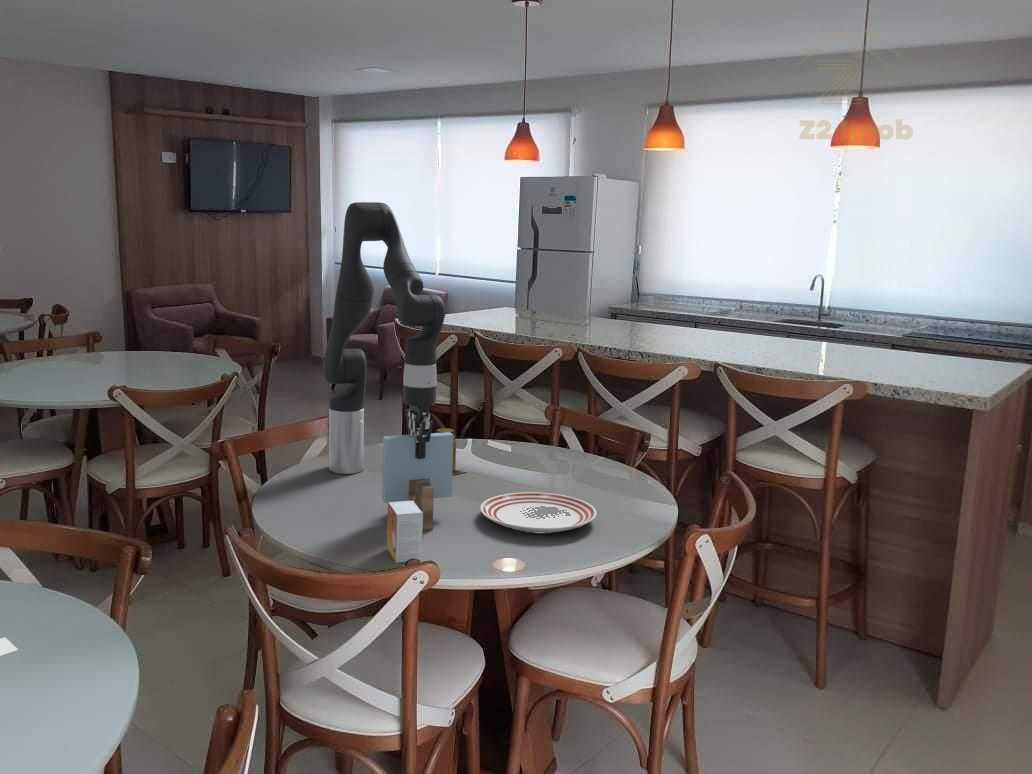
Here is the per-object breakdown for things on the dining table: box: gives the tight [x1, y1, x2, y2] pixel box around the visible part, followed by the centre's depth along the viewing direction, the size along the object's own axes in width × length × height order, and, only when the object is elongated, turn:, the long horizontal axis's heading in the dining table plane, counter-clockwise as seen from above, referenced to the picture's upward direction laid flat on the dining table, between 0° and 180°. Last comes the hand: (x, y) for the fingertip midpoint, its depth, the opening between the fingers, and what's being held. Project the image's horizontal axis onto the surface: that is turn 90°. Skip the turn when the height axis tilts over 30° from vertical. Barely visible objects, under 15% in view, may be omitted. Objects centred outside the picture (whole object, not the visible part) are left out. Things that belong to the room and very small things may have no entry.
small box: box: [386, 501, 423, 564], centre depth 183 cm, size 8×6×10 cm
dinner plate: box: [479, 491, 597, 533], centre depth 208 cm, size 28×27×3 cm
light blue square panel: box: [381, 432, 454, 504], centre depth 203 cm, size 2×16×15 cm, turn 114°
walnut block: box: [408, 479, 435, 532], centre depth 204 cm, size 16×2×10 cm, turn 24°
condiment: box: [435, 427, 468, 476], centre depth 241 cm, size 7×8×12 cm
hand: (418, 456), depth 202 cm, fingers closed on light blue square panel, 2 cm apart
